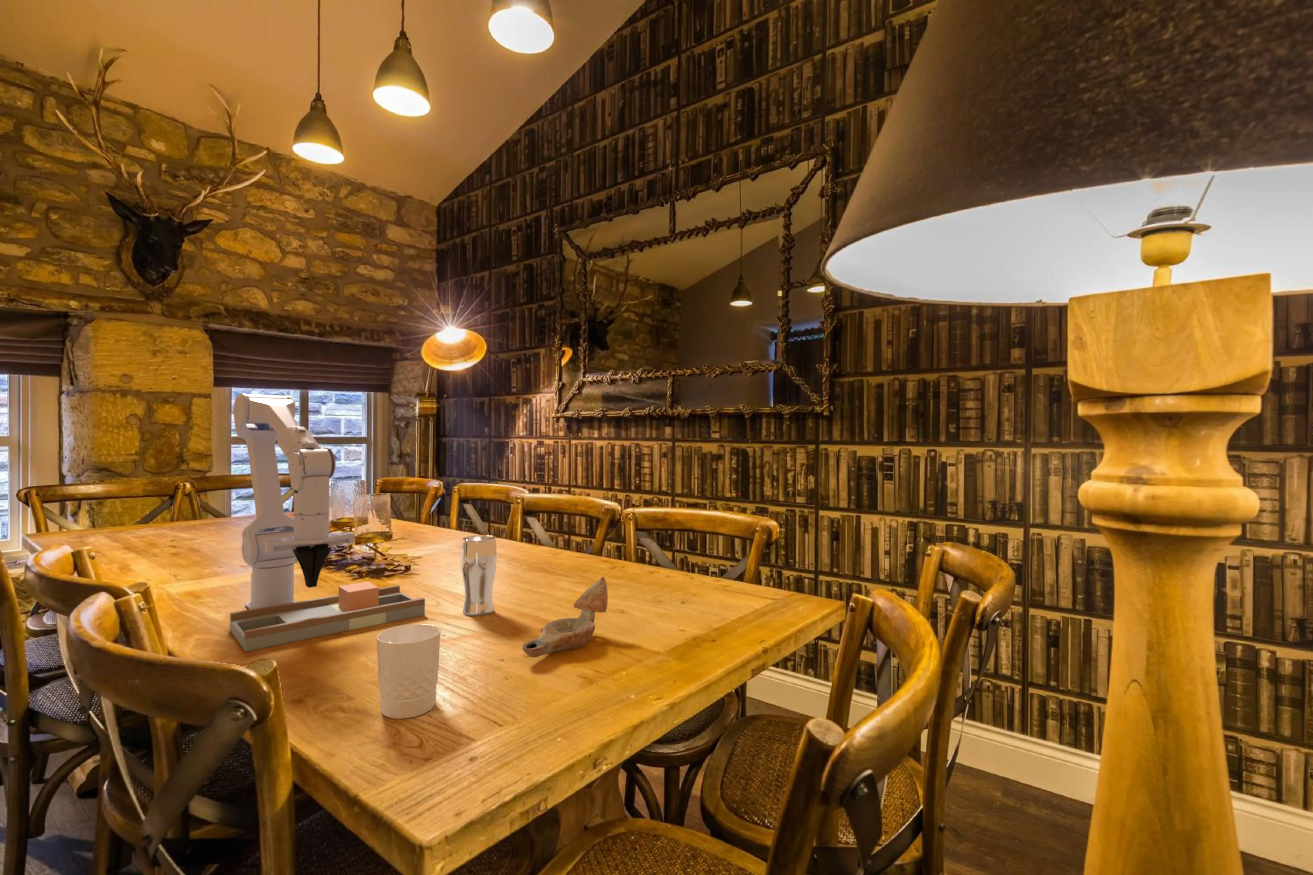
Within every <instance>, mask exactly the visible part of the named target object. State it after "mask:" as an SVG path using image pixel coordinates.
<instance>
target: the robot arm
mask: <svg viewBox="0 0 1313 875" xmlns="http://www.w3.org/2000/svg"><path fill="white" fill-rule="evenodd" d="M232 410H233V420H234V428H235V431H236V436H237V437H238V438H241V439H242V440H245V443H246V449H247V453H248V461H249V468H250V469H249V470H250V477H251V484H252V492H253V500H254V507H255V517H256V518H254V520H253V521H251V522H250V523H249V524H247V525H246V526H245V527H244V529H243V530H242V533H241V537H242V542H241V554H242V558H243V561H244V562H245V563H246V564H247V565H248V566H250V567H251V568H252V571H251V573H250V601H247V602H245V603H244V605H245V606H246V607H247V609H248V610H250V609H257V608H263V607H269V606H275V605H281V604H287V603H293V602H297V601H296V600H295V596H294V594H295V589H294V588H295V581H294V580H295V578H294V576H295V565H294V564H295V563H296V564H297V562H298V563H299V566H300V568H301V572H302V574H303V578H304V583H305V587H307V588H309V589H310V588H316V587H317V586H318V581H319V577H320V574H321V571H322V568H323V565H324V564H325V562H326V560H327V558H328V557H329V555H330V553H331V547H329V546H335V545H344V544H348V545H349V544H351V545H352V544H355V542H356V541H355V540H356V539H355V537H356V536H355V532H352V531H348V532H334V533H332V532H331V533H330V479H332V478H333V476H334V475H335V471H336V464H337V463H336V456H335V454H334V452H333V450H332V448H330V447H325V446H320V444H319V443H318V442H317V441H316V438H314V437H313V435H312V434H311V432H310V431H309V430H308V429H307V428H306V427H304V426H299V425H298V423H297V421H296V419H295V417H296V403H295V400H294V399H293V398H292V396H290V395H288V394H284V395H272V394H251V393H248V394H246V393H244V392H241V393H239V394H237V396H236V397H235V400H234V404H233V409H232ZM276 441H277V445H278V447H279V448H280V449H281V451H282V452H283V455H284V457H285V458H286V459H287V460H288V463H287V468H288V474H289V478H290V487H291V489H292V490H293V518H292V517H290V516H289V515H287V514H285V510H284V504H283V495H282V488H281V483H280V482H281V481H280V475H279V468H278V467H279V466H278V462H277V453H276V452H277V451H276V445H275V443H276Z"/></svg>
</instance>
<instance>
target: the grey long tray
mask: <svg viewBox="0 0 1313 875" xmlns="http://www.w3.org/2000/svg"><path fill="white" fill-rule="evenodd" d="M400 590H401V587H400V585H398V584H395V585H391V586H384V587H379V606H375V607H370V608H365V609H359V610H354V611H348V612H346V611H344V610H343V609H341V608H340V607H339V594H336V595H329V596H324V597H318V598H312V599H311V598H310V599H306V600H300V601H296V602H293V603H287V604H281V605H275V606H269V607H263V608H257V609H247V610H246V609H245V610H240V611H234V612H232V611H231V612H230V613H229V631H230V632H231V634H232V635H233V636H234V638H235V640H236V641H237V642H238V643H239V645H240V646H241V648H242V649H243V650H244V651H245V652H249V651H254V650H259V649H264V648H268V647H274V646H278V645H283V644H287V643H294V642H299V641H302V640H308V639H313V638H317V637H318V638H319V637H324V636H328V635H332V634H337V633H343V632H347V631H352V630H356V629H362V628H367V627H371V626H372V627H373V626H376V625H383V624H387V623H393V622H396V621H397V622H398V621H400V620H405V619H406V620H407V619H411V618H417V617H421V616H425V614H426V612H425V611H426V610H425V609H426V608H425V607H426V606H425V605H426V604H425V603H426V602H425V601H426V599H425V598H424V597H420V598H413V597H410V596H408V595H407V594H405V593H403V592H401V591H400Z"/></svg>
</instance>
